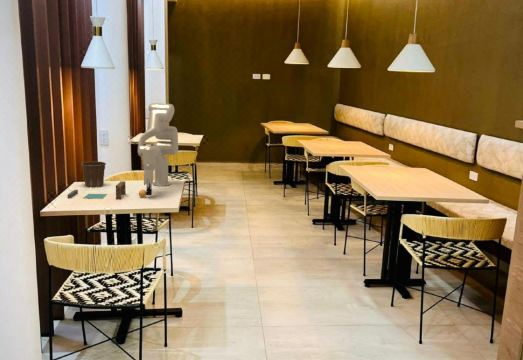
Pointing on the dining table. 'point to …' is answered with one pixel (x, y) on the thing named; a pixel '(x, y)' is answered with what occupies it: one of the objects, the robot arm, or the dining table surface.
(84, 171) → the plant pot
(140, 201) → the dining table surface
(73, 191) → the stopper wall
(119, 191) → the bridge
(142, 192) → the ball
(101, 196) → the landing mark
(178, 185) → the dining table surface
